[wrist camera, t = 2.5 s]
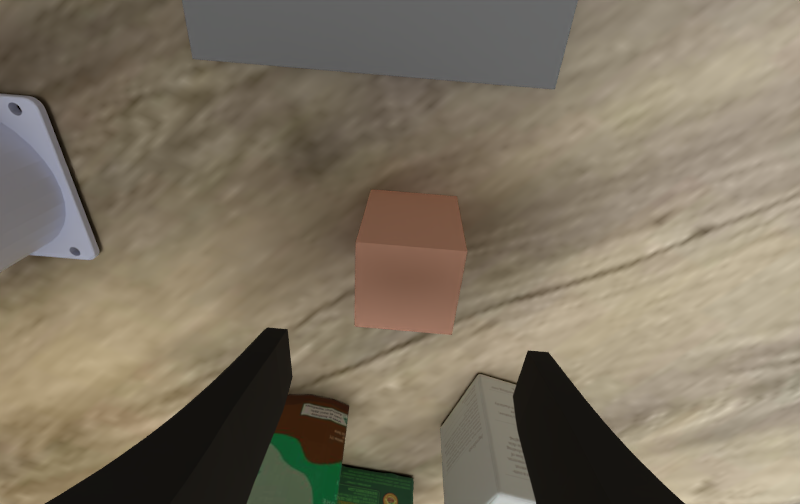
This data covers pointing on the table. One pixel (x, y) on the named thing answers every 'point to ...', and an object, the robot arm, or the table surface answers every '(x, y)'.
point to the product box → (484, 448)
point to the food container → (304, 453)
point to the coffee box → (373, 487)
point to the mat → (390, 37)
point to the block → (409, 262)
